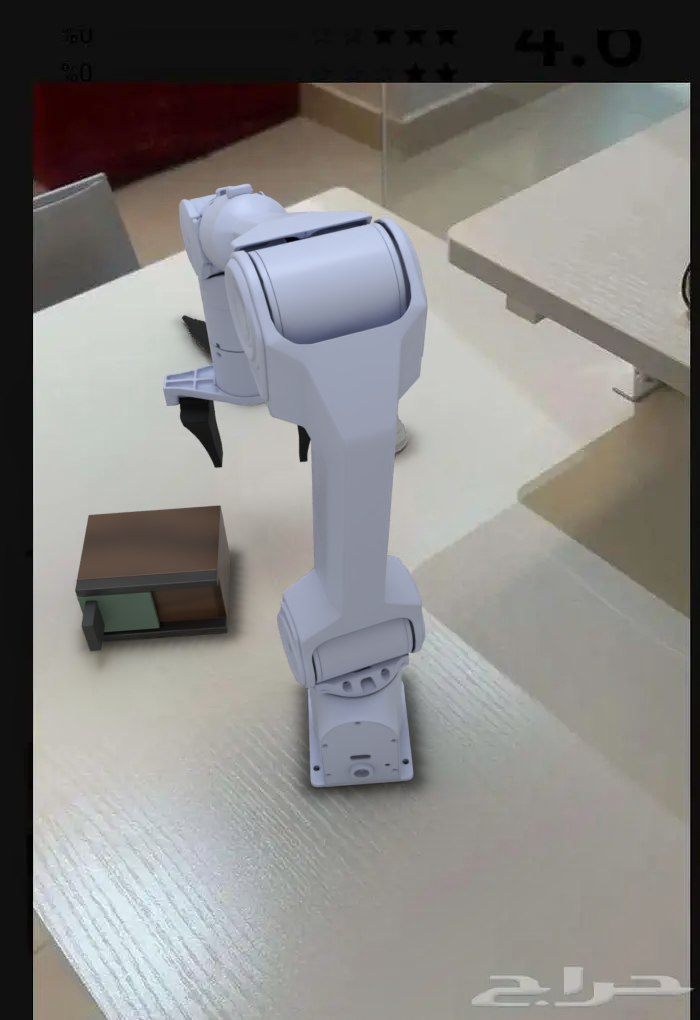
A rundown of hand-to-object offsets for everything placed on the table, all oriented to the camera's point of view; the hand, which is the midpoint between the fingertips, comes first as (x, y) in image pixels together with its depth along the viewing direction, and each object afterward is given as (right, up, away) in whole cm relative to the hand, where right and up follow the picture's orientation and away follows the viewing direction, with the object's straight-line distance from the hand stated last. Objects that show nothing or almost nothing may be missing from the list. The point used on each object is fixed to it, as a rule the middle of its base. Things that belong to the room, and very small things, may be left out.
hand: (261, 457), depth 96 cm
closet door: (-12, -16, -3) cm, 20 cm away
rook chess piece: (+12, +2, +16) cm, 20 cm away
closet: (-9, -12, +2) cm, 16 cm away
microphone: (-6, +13, +28) cm, 31 cm away
